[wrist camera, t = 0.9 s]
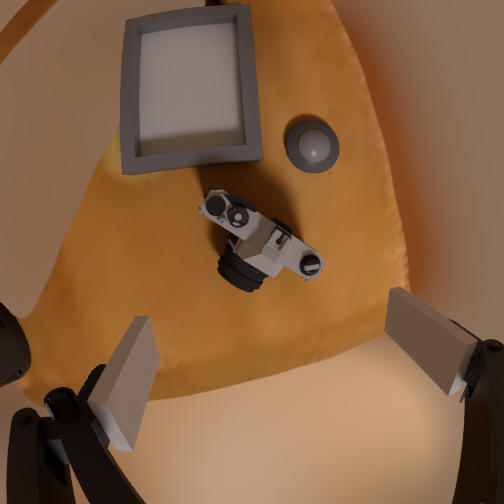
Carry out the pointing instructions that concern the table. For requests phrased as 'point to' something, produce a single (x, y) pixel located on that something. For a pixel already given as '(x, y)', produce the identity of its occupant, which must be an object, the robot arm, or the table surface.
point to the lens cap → (312, 146)
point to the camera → (257, 243)
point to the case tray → (189, 90)
